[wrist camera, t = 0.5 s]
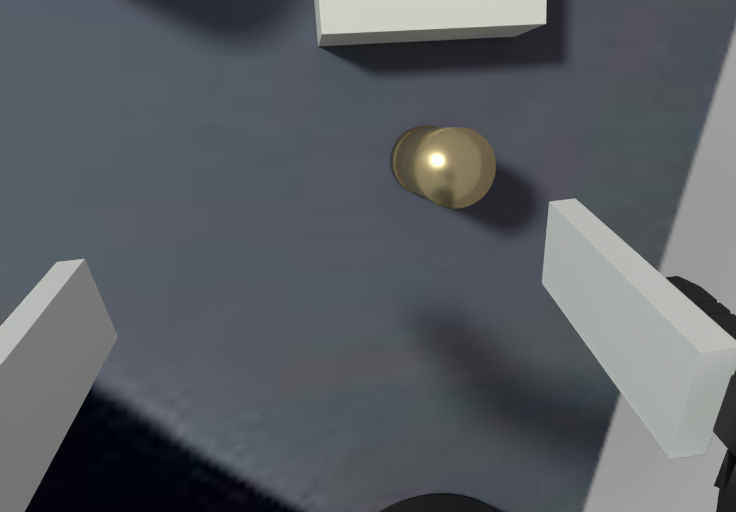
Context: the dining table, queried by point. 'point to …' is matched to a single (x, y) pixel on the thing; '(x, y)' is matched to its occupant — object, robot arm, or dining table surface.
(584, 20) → the dining table surface
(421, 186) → the cylinder
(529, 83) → the dining table surface
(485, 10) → the block
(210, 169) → the dining table surface
